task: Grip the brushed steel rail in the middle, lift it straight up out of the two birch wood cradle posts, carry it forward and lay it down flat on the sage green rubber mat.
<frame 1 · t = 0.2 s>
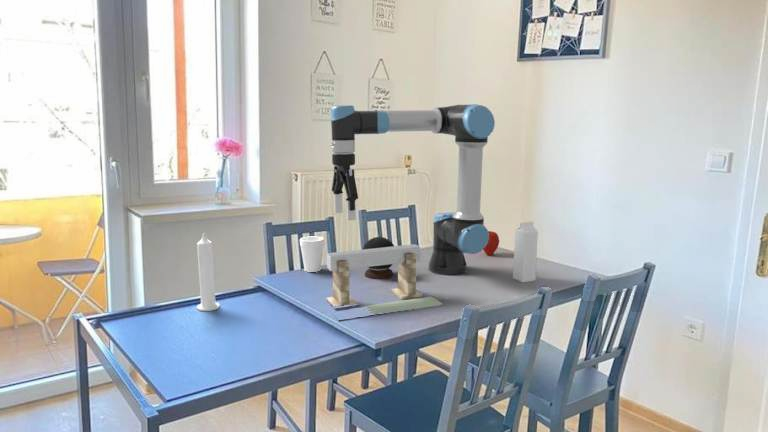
hand: (344, 216, 192), 28 cm above the table, tool pointing down, fingers open, 13 cm apart
apple: (488, 255, 251), on the table
rail: (374, 264, 192), point 12 cm above the table, touching cradle posts
cradle posts: (374, 298, 194), on the table
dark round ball: (379, 275, 222), on the table
mat: (387, 308, 185), on the table
foam cup: (312, 271, 228), on the table
milk: (524, 279, 216), on the table
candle: (208, 308, 186), on the table
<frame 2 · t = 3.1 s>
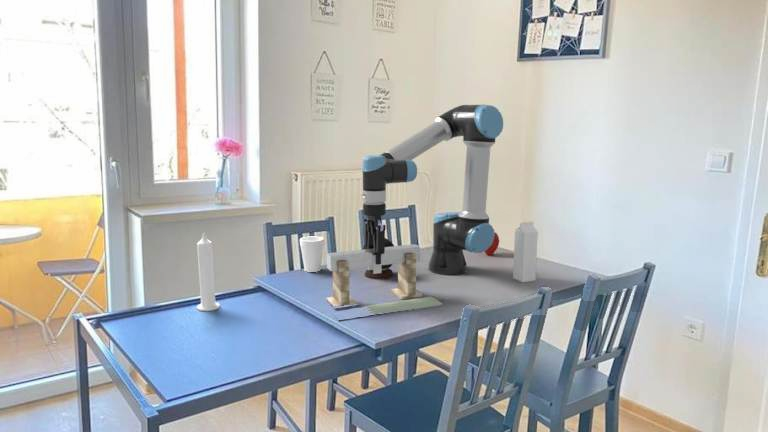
hand: (374, 271, 193), 10 cm above the table, tool pointing down, fingers closed on rail, 4 cm apart
rail: (374, 264, 192), point 12 cm above the table, touching cradle posts, gripper
everything else where it was.
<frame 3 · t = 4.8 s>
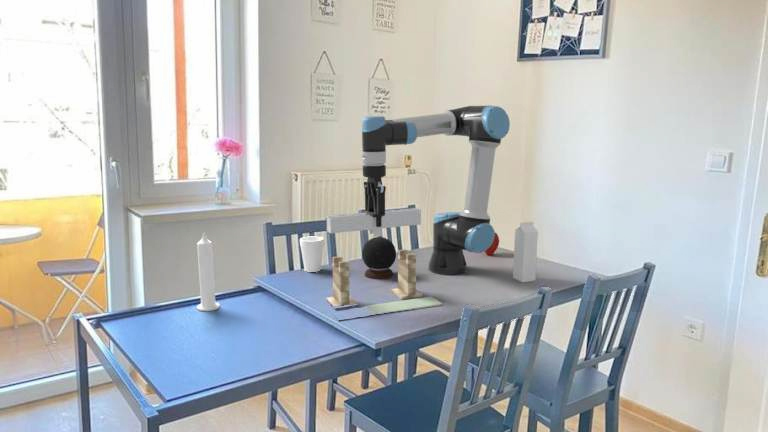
hand: (375, 234, 190), 22 cm above the table, tool pointing down, fingers closed on rail, 4 cm apart
rail: (374, 227, 190), point 25 cm above the table, touching gripper
everything else where it was.
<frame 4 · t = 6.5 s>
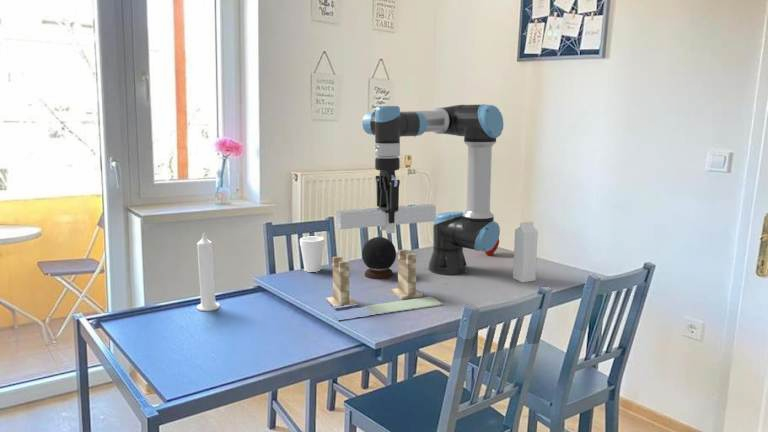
hand: (387, 231, 180), 26 cm above the table, tool pointing down, fingers closed on rail, 4 cm apart
rail: (387, 224, 179), point 28 cm above the table, touching gripper
everything else where it was.
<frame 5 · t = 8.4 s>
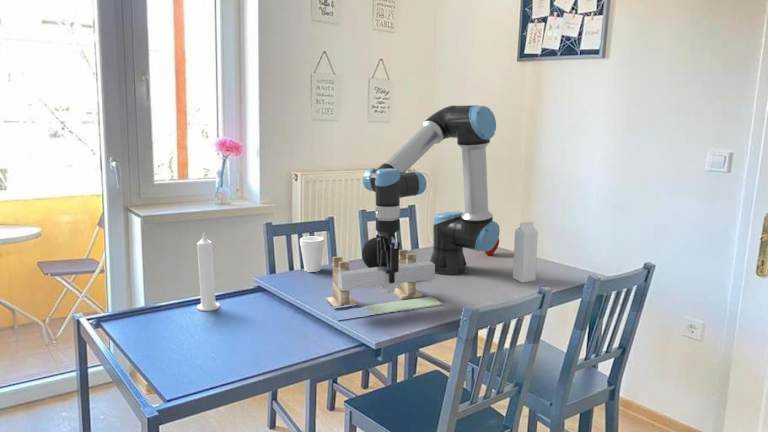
hand: (387, 289, 183), 6 cm above the table, tool pointing down, fingers closed on rail, 4 cm apart
rail: (387, 282, 183), point 9 cm above the table, touching gripper
everything else where it was.
when the fingers open (1 cm above the table, at t = 9.7 s): rail drops 3 cm, resting on mat.
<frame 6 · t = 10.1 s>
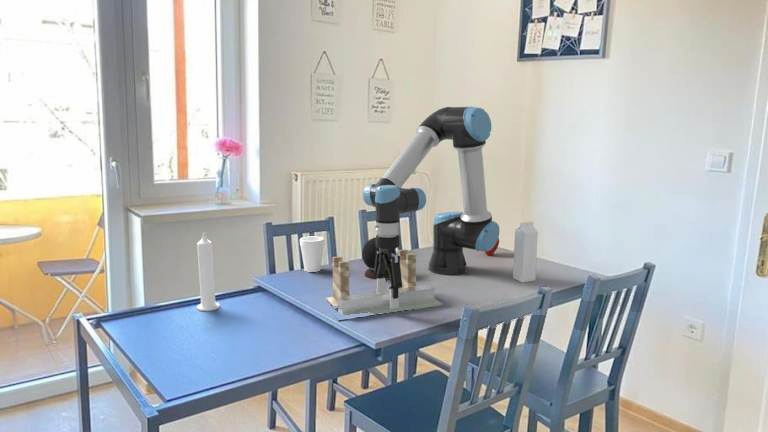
hand: (387, 302, 184), 2 cm above the table, tool pointing down, fingers open, 10 cm apart
rail: (387, 307, 184), resting on mat
everything else where it was.
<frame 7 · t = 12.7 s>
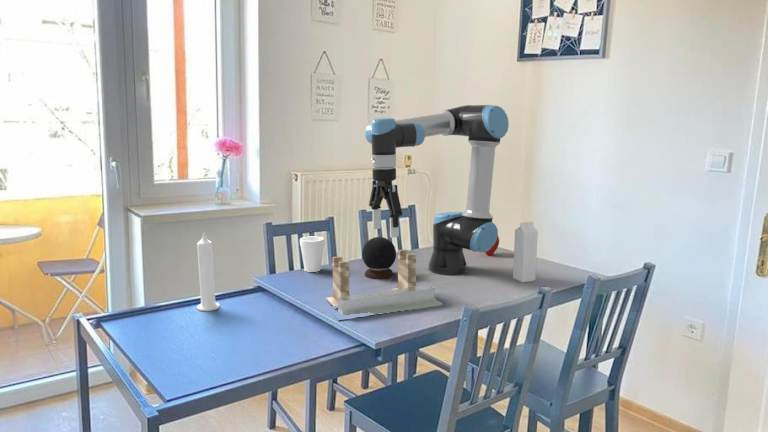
hand: (385, 232, 186), 24 cm above the table, tool pointing down, fingers open, 13 cm apart
nothing on the table moved.
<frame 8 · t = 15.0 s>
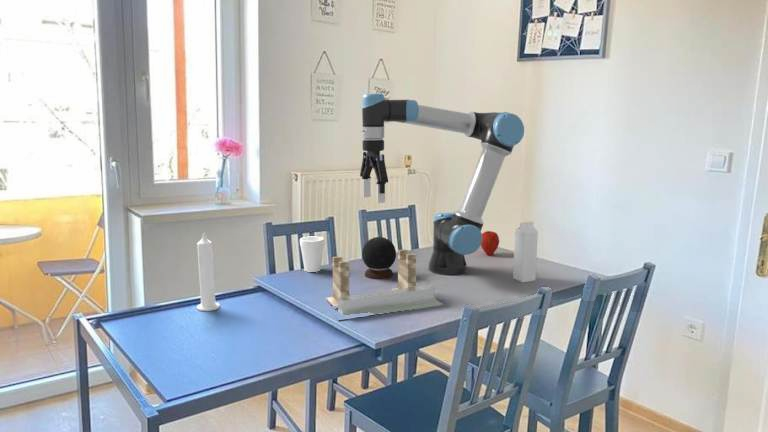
hand: (373, 199, 202), 32 cm above the table, tool pointing down, fingers open, 13 cm apart
nothing on the table moved.
at the end: rail inside the target area on the mat (0.0 cm from its centre), point 0.5 cm above the mat's base; rail tilted 0°; the gripper is holding nothing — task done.
